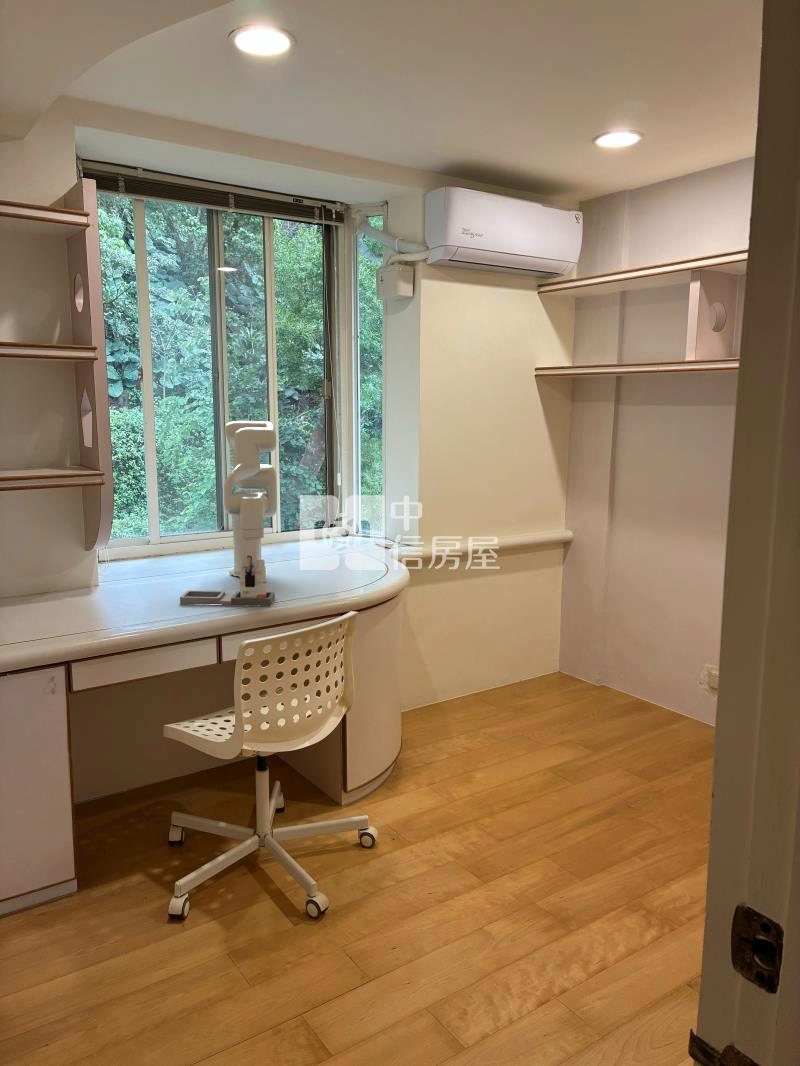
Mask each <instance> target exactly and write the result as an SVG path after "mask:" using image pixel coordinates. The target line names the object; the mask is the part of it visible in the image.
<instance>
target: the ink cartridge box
mask: <svg viewBox="0 0 800 1066" xmlns="http://www.w3.org/2000/svg"><path fill="white" fill-rule="evenodd" d="M251 561H252V560H251ZM265 563H266V562H265V559H261V560H259V562H258V567H257V568H255V569H254V575H255V587H245V569H246V567H245V568H242V560H241V561H240V577H239V584H240V585H239V588H240V589H239V590H240V591H239V592H240V594H241V598H266V592H267V575H266V571H267V570H266V564H265ZM251 570H252V569H251Z"/></svg>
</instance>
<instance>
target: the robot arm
mask: <svg viewBox="0 0 800 1066" xmlns="http://www.w3.org/2000/svg"><path fill="white" fill-rule="evenodd" d="M224 429H225V436H226V440H227V442H228V444H229V446H230V448H231V451H232V471H230V473H229V474H228V475H227V477H226V479H225V480H224V485H223V503H224V509H225V512H226V513H227V514H228V515H231V517H232V520H231V521H232V529H233V531H232V536H233V540H232V542H233V569H230V571H229V575H231V576H232V575H233V576H232V577H236V576H238V578H240V561H241V560H242V568H245V567H246V569H245V587H255V575H254V569H255V568H257V567H258V562H259V560H262V539H264V536H265V535H264V532H265V531H264V518H271V517H274V516H275V515H276V513H277V510H278V509H277V508H278V507H277V506H278V502H277V501H278V500H277V497H278V495H277V489H278V488H277V472H276V469H275V467H274V466H273V465H271V464H266V463H265V464H262V463H261V453H262V452H266V453H267V452H274V451H275V449H276V448H277V434H276V431H275V427H274V425H273V423H272V422H270V421H265V420H263V421H262V420H261V421H258V420H255V421H253V420H235V421H230V422H228V423H226V425H225V428H224ZM260 452H261V453H260ZM233 487H235V488H236V489H238V490H246V491H247V492H233ZM248 490H249V491H250V490H253V491H255V490H263V492H248ZM251 560H252V561H251ZM251 569H252V570H251Z"/></svg>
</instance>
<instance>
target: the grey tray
mask: <svg viewBox="0 0 800 1066" xmlns="http://www.w3.org/2000/svg"><path fill="white" fill-rule="evenodd" d="M274 599H275V600H276V592H275V591H266V598H241V594H240V591H236V592H235V593H233V594H232V593H225V595H224V596H223V597H222V598H221V599H220V600H219V604H222V605H221V606H227V605H260V606H259V607H271V606H272V605H273V603H274V602H273V601H275V600H274ZM272 602H273V603H272ZM271 604H272V605H271ZM270 605H271V606H270Z"/></svg>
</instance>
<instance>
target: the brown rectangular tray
mask: <svg viewBox="0 0 800 1066" xmlns="http://www.w3.org/2000/svg"><path fill="white" fill-rule="evenodd" d="M225 594H226V591H224V590H186V591H185V592H184V593H183V594H182V595H181V596H179V605H180V604H219V600H220V599H221V598H222V597H223V596H224V595H225Z"/></svg>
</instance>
